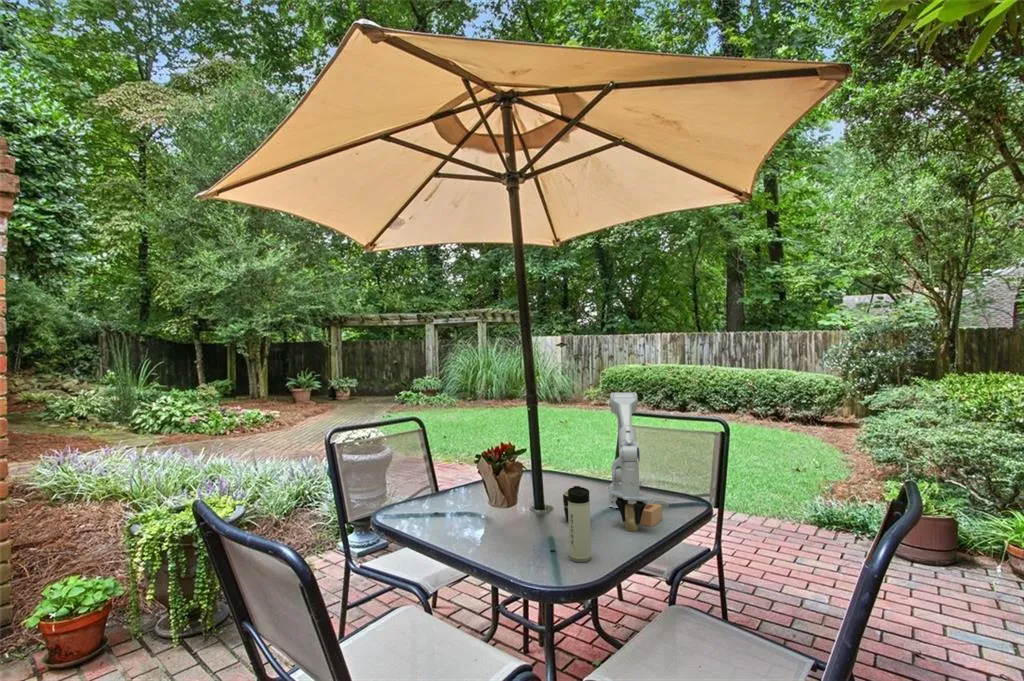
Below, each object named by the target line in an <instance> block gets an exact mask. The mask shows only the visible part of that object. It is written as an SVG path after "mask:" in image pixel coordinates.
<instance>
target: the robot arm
mask: <svg viewBox="0 0 1024 681" xmlns="http://www.w3.org/2000/svg"><path fill="white" fill-rule="evenodd" d="M609 395H610V396H609V397H610V399H609V402H610V412H611V413H612V414H614V415H616V417H617V432H618V434H617V436H618V457H616V459H614V460H613V461H612V462H611V466H612V467H611V480H612V482H611V483H610V485H609V489H608V497H609V498H608V499H609V505H608V507H609V506H610V505H611V506H610V507H612V506H613V507H614V508H613V509H616V508H619V509H618V510H619V513H620V515H621V519H622V522H623V523H625V504H633V503H635V502H636V503H635V504H633V506H634V510H635V523H636V525H640V521H641V516H642V513H643V510H644V508H645V506H646V504H648V505H651V504H654V501H653V500H654V498H653V497H652V496H647V495H643V494H641V493H640V470H639V463H640V460H641V450H640V446H639V442H638V440H637V432H636V429H635V428H634V427H633V426H632V423H633V422H632V421H633V420H632V418H633V417H632V415H633V414H635V413H636V412H637V410H638V407H639V406H638V405H639V404H638V403H639V400H638V394H637V392H635V391H634V392H611V393H609ZM610 507H609V508H610Z"/></svg>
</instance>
